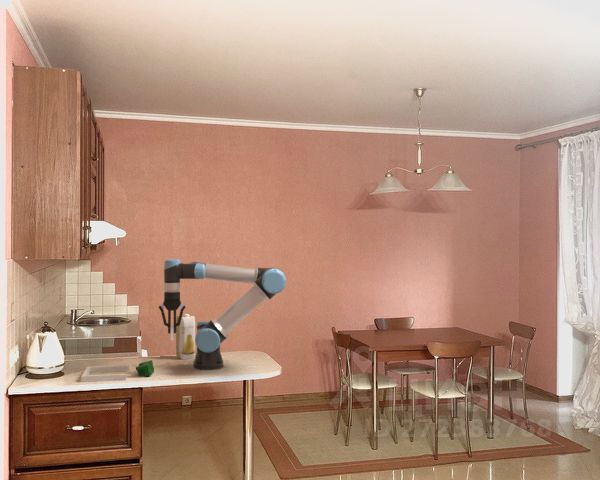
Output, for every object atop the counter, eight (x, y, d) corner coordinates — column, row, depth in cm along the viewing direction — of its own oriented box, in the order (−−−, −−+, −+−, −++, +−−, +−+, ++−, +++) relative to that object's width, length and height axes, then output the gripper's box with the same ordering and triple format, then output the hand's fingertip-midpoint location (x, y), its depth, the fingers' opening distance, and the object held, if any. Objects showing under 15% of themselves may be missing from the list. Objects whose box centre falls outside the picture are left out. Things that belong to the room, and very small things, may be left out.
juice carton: (181, 360, 330) (181, 315, 329) (174, 358, 336) (174, 313, 336) (196, 358, 336) (196, 313, 335) (189, 355, 342) (189, 312, 342)
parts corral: (128, 370, 306) (128, 365, 306) (125, 379, 286) (125, 374, 286) (87, 371, 302) (87, 366, 302) (81, 381, 282) (81, 376, 282)
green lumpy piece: (143, 382, 300) (140, 363, 304) (155, 378, 300) (152, 360, 304) (136, 378, 289) (133, 359, 292) (148, 374, 289) (145, 356, 293)
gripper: (185, 290, 304) (185, 338, 304) (158, 290, 301) (158, 339, 301) (186, 291, 296) (185, 341, 297) (158, 292, 294) (158, 341, 294)
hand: (172, 340), depth 299 cm, fingers closed
